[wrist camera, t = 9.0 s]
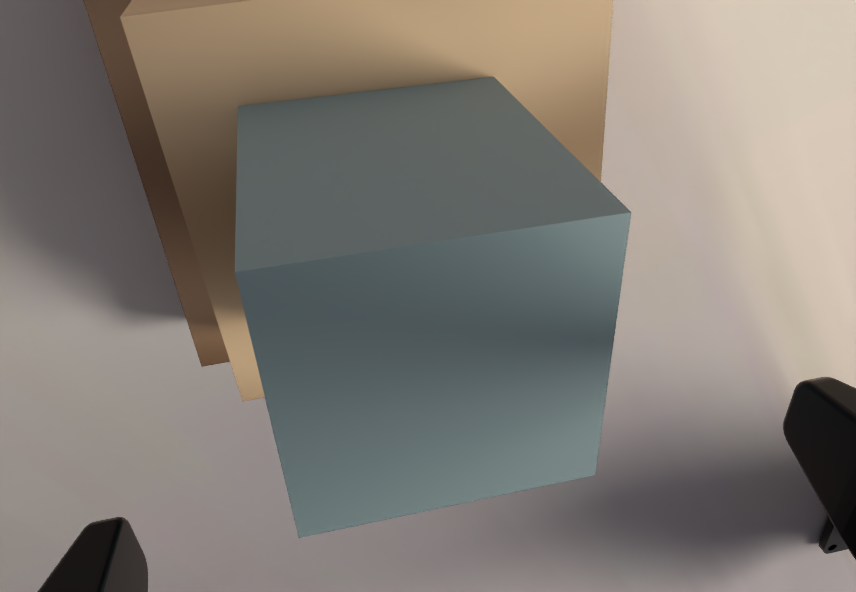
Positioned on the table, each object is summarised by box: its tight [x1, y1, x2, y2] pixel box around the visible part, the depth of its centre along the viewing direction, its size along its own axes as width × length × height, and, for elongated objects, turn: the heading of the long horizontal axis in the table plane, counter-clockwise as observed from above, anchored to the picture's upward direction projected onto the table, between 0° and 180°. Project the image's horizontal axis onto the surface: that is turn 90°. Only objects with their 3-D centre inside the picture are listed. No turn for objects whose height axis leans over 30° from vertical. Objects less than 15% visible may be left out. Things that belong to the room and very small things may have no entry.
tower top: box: [120, 0, 613, 401], centre depth 16 cm, size 9×9×3 cm
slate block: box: [235, 77, 631, 538], centre depth 12 cm, size 5×5×6 cm
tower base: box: [84, 0, 230, 366], centre depth 19 cm, size 11×11×3 cm
